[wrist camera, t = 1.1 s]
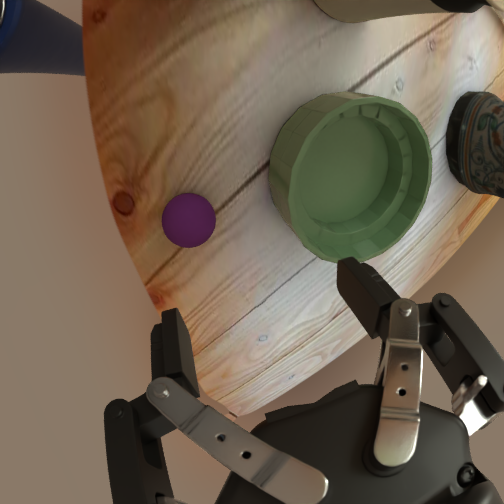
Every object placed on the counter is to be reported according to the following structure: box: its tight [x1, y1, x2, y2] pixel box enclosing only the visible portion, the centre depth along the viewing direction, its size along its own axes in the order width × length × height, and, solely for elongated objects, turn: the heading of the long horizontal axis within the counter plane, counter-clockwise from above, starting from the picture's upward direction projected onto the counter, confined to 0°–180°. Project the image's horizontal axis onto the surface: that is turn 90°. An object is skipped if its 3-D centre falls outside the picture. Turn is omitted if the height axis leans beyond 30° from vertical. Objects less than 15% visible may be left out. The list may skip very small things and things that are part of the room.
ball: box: [162, 193, 216, 248], centre depth 26 cm, size 5×5×5 cm
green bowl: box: [268, 91, 432, 263], centre depth 27 cm, size 17×17×6 cm
